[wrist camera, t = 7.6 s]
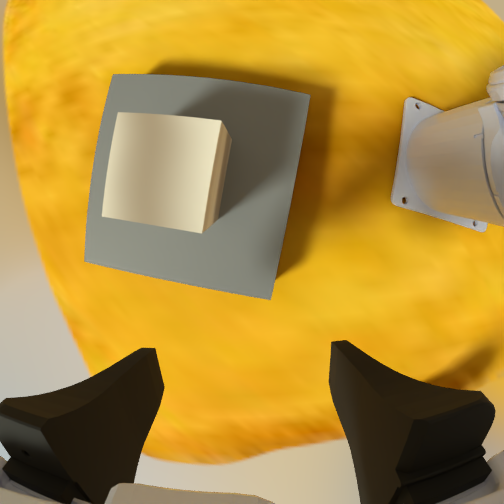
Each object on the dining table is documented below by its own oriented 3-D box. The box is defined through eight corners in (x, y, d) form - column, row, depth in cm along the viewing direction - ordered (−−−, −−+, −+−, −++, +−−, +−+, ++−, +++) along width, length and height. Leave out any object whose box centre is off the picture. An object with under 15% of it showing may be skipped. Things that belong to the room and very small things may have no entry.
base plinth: (303, 107, 18) (310, 94, 15) (268, 283, 21) (270, 300, 18) (130, 87, 18) (113, 74, 15) (104, 251, 21) (84, 261, 18)
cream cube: (232, 139, 16) (221, 120, 11) (217, 219, 17) (202, 233, 12) (154, 130, 16) (117, 112, 11) (142, 207, 17) (101, 216, 12)
